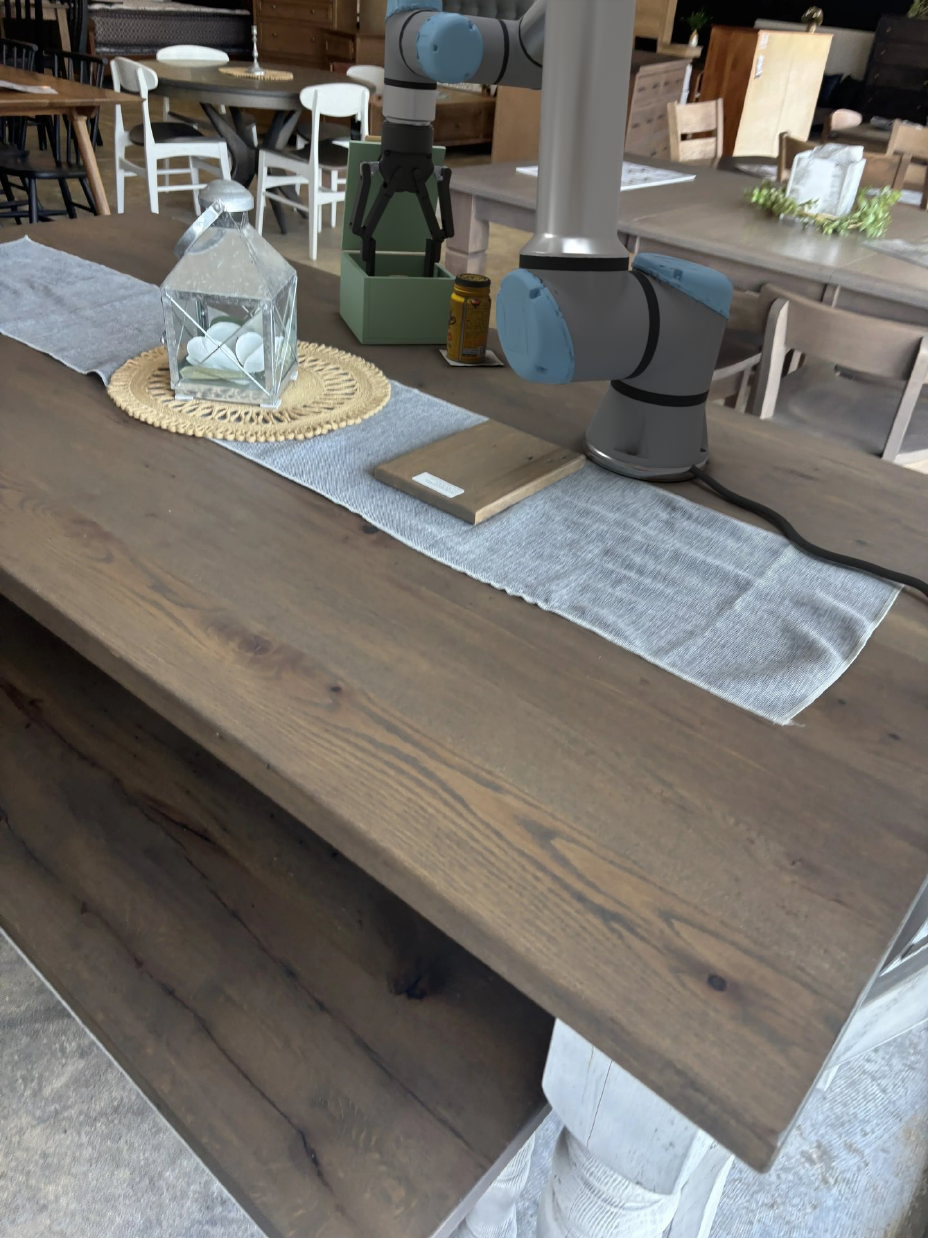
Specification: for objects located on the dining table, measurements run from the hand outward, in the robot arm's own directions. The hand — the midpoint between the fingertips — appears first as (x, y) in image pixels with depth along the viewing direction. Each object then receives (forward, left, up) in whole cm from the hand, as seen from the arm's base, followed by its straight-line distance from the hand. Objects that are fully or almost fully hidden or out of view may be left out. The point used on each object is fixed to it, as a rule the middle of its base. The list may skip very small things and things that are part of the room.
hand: (399, 283), depth 143 cm
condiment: (-14, -8, -8) cm, 18 cm away
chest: (+1, 0, -7) cm, 7 cm away
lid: (+6, 0, +11) cm, 13 cm away
